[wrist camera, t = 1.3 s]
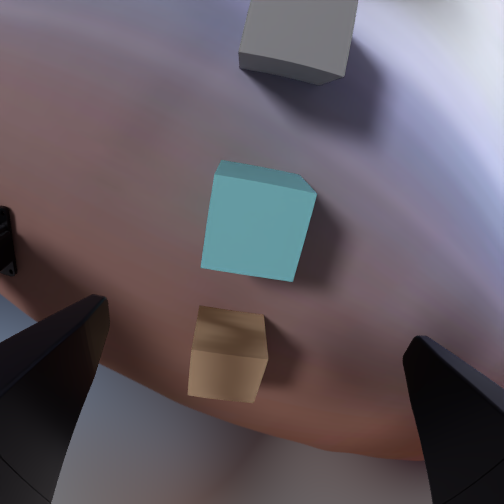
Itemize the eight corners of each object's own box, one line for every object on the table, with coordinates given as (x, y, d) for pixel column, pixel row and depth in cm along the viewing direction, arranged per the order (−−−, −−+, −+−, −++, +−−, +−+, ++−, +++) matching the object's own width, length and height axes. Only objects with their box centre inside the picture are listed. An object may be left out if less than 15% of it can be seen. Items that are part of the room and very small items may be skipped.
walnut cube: (194, 350, 25) (187, 395, 20) (199, 304, 23) (191, 349, 18) (251, 358, 26) (253, 403, 21) (263, 314, 24) (268, 359, 19)
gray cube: (239, 68, 16) (238, 51, 11) (255, 1, 14) (259, -32, 9) (318, 85, 16) (344, 76, 12) (332, 19, 14) (359, -6, 10)
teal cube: (209, 232, 20) (200, 267, 16) (221, 159, 18) (214, 174, 14) (281, 244, 21) (292, 281, 16) (299, 174, 19) (317, 193, 14)
